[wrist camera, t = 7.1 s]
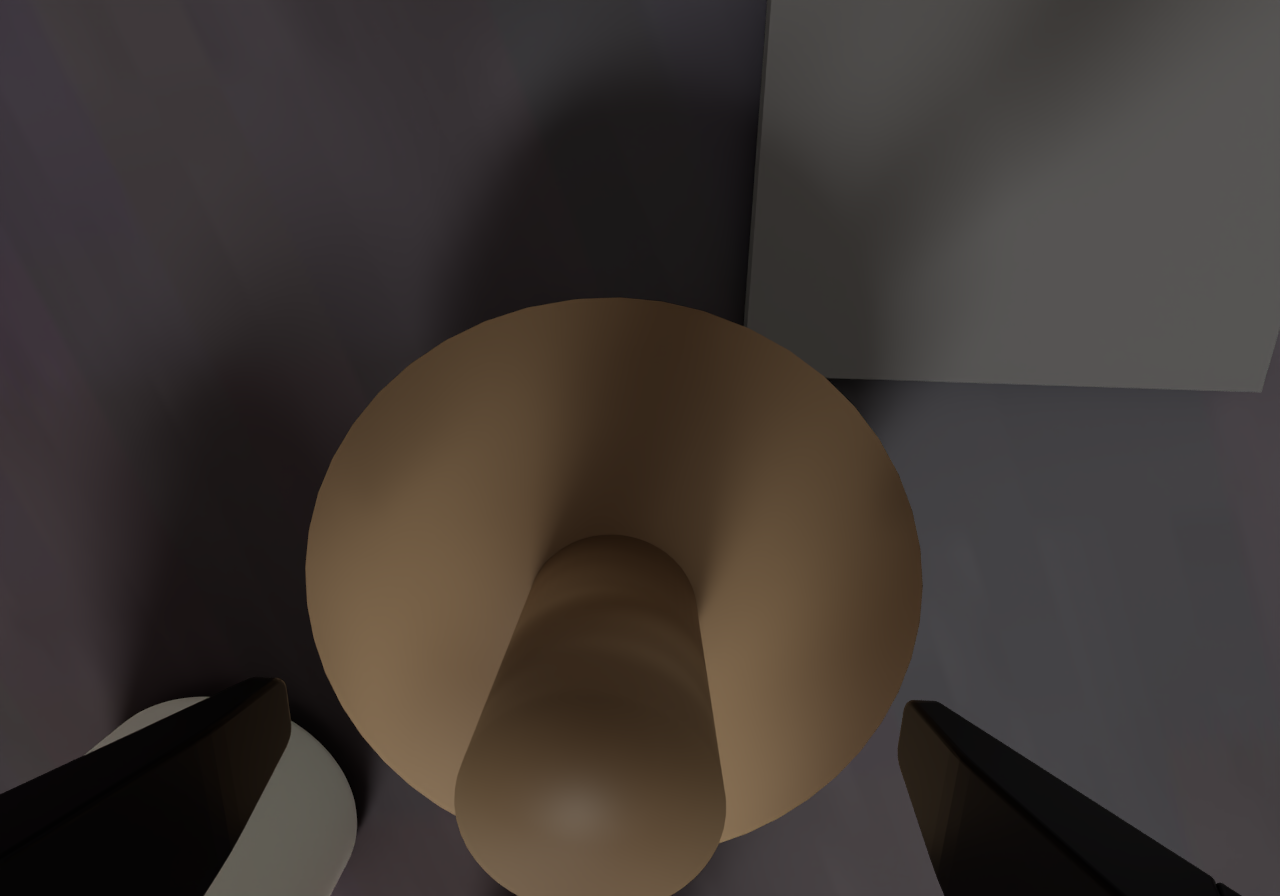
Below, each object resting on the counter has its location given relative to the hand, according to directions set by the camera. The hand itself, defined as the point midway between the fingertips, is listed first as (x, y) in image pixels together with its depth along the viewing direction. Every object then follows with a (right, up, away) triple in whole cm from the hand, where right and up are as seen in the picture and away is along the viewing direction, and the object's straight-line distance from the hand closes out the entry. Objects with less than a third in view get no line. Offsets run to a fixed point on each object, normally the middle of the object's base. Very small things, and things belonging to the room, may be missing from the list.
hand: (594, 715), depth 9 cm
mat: (+10, +12, +5) cm, 17 cm away
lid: (0, +1, +4) cm, 4 cm away
